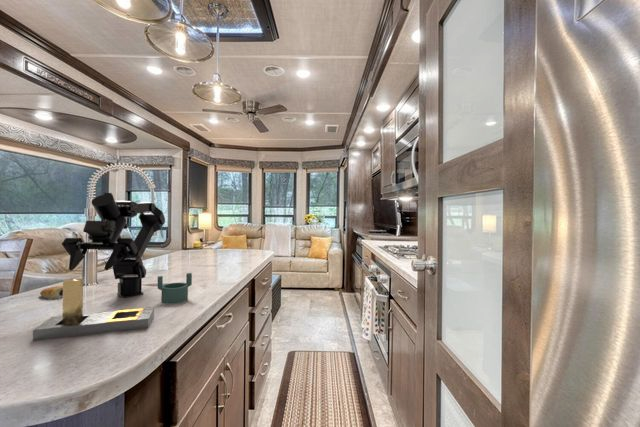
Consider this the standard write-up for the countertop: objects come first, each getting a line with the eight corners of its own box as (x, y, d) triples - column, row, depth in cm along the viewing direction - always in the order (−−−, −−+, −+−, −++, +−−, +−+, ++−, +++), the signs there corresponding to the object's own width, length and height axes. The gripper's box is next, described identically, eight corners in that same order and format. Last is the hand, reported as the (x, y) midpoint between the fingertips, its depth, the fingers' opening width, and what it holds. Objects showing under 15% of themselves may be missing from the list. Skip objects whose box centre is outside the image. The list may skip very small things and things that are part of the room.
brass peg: (79, 325, 79) (80, 277, 79) (84, 329, 77) (85, 279, 77) (60, 330, 76) (60, 280, 76) (64, 334, 74) (65, 282, 74)
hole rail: (32, 340, 70) (32, 329, 70) (51, 326, 79) (51, 316, 78) (148, 328, 79) (148, 317, 78) (154, 316, 87) (154, 307, 87)
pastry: (33, 298, 103) (33, 287, 103) (54, 293, 110) (54, 282, 110) (54, 300, 101) (55, 289, 101) (74, 295, 108) (74, 284, 108)
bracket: (193, 297, 107) (193, 272, 107) (175, 305, 98) (175, 278, 98) (172, 295, 109) (172, 271, 109) (152, 302, 100) (153, 276, 100)
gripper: (67, 210, 89) (35, 251, 77) (134, 212, 91) (113, 251, 80) (83, 235, 96) (57, 276, 85) (144, 236, 99) (127, 275, 88)
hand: (88, 269), depth 84 cm, fingers open, 9 cm apart
